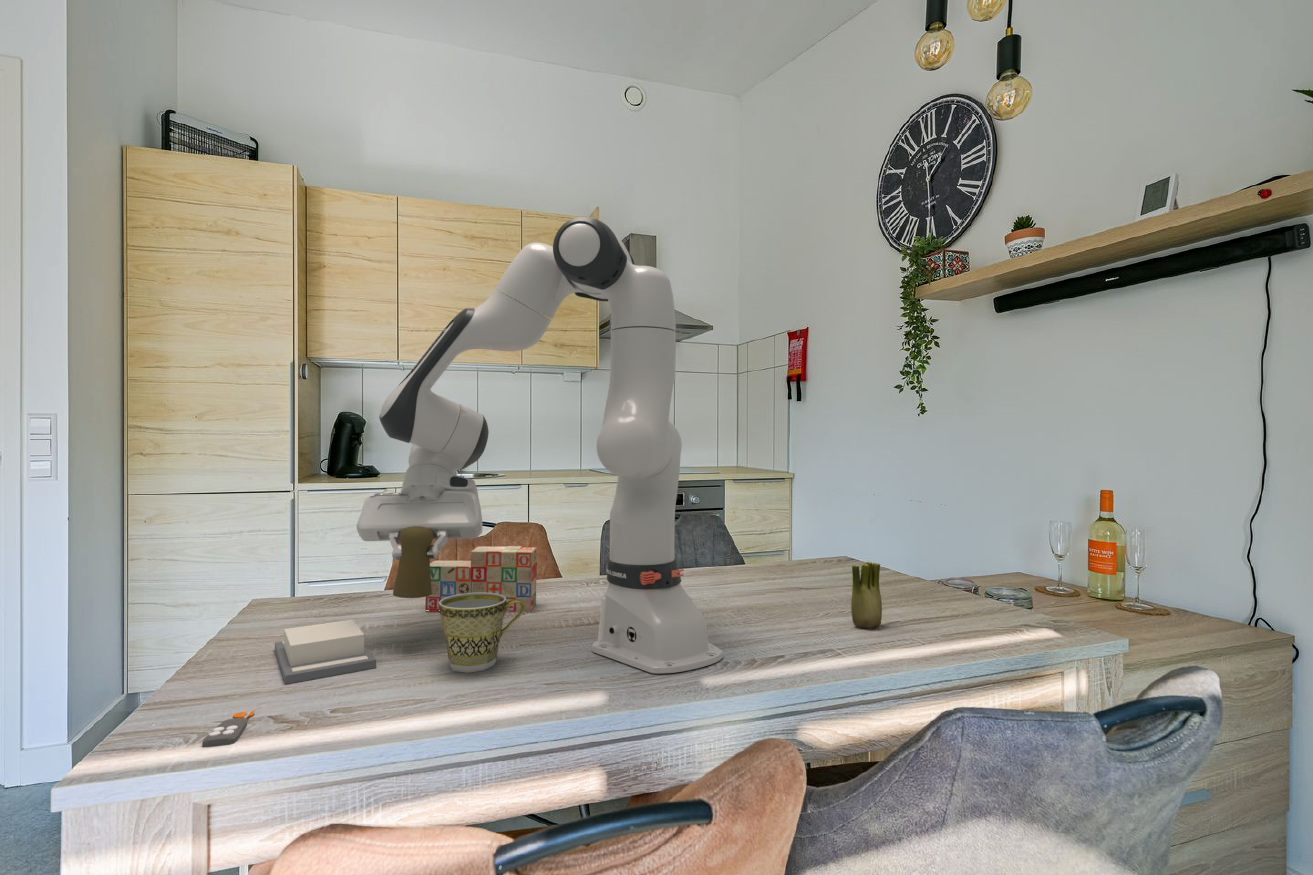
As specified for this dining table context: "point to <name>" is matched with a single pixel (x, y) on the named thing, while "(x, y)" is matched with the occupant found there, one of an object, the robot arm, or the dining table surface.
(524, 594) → the stack of blocks
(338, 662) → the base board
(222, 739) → the key chain
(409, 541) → the cork
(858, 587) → the fennel bulb
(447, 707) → the dining table surface
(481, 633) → the ceramic cup
